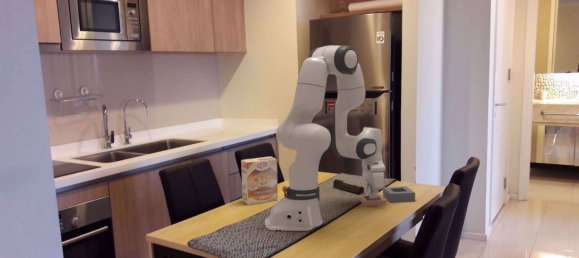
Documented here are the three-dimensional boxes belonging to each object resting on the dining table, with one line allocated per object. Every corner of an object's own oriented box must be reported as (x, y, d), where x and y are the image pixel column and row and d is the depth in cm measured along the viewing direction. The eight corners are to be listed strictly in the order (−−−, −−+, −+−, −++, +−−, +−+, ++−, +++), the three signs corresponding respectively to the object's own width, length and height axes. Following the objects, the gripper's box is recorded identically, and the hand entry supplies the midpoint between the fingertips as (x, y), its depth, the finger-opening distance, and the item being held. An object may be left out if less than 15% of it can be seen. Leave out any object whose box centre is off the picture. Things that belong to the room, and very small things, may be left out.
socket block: (390, 202, 192) (390, 193, 191) (382, 195, 202) (382, 187, 202) (415, 201, 193) (415, 192, 192) (406, 194, 203) (406, 186, 203)
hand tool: (364, 194, 207) (364, 184, 206) (358, 195, 205) (358, 186, 204) (337, 186, 222) (337, 177, 222) (331, 188, 220) (331, 179, 219)
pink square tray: (364, 205, 188) (364, 201, 188) (359, 199, 198) (359, 195, 197) (386, 204, 189) (386, 200, 189) (379, 198, 198) (379, 194, 198)
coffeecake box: (248, 205, 193) (246, 162, 191) (242, 201, 199) (240, 159, 197) (278, 200, 200) (277, 158, 198) (271, 196, 206) (270, 155, 204)
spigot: (369, 203, 191) (369, 185, 190) (366, 201, 195) (366, 183, 194) (378, 203, 192) (378, 185, 190) (375, 200, 195) (375, 183, 194)
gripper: (359, 159, 201) (359, 188, 203) (371, 168, 181) (371, 201, 183) (372, 158, 202) (372, 187, 203) (386, 167, 181) (386, 200, 183)
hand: (372, 194), depth 193 cm, fingers closed on spigot, 4 cm apart
